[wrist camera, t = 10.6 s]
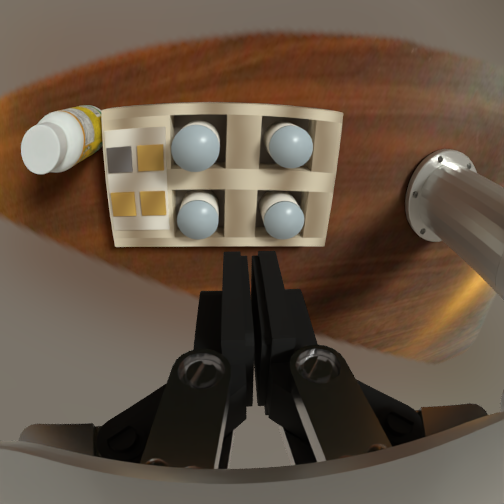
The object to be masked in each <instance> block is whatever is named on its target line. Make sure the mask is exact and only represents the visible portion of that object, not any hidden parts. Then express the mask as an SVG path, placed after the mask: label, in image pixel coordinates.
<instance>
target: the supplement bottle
mask: <svg viewBox="0 0 504 504" xmlns="http://www.w3.org/2000/svg"><path fill="white" fill-rule="evenodd" d="M102 145H103V139H102V118H101V110H100V109H98V108H96V107H94V106H90V105H83V106H78V107H73V108H69V109H64V110H60V111H56V112H52V113H50V114H48V115H46V116H44V117H43V118H42V119H41V120H40V121H39V122H38V124H37V125H35V126H33V127H32V128H30V129H29V130H28V131H27V132H26V134H25V136H24V138H23V140H22V144H21V155H22V159H23V162H24V164H25V165H26V167H27V168H28V169H29V170H30V171H31V172H33V173H35V174H46V173H48V172H63V171H66V170H68V169H69V168H71V167H73V166H74V165H76V164H77V163H79V162H81V161H82V160H84V159H85V158H87V157H89V156H90V155H92V154H94V153H95V152H97V151H98V150H99V149H100V148H101V147H102Z"/></svg>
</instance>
